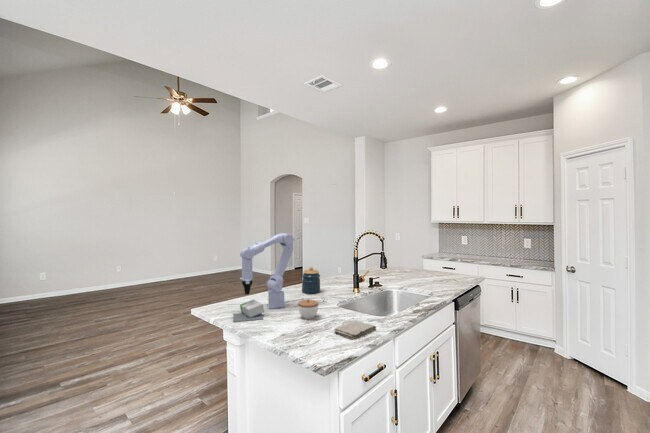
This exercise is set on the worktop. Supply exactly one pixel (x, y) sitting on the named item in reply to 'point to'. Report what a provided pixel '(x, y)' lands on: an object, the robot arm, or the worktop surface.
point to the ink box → (252, 308)
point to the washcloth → (354, 330)
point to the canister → (311, 281)
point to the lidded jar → (308, 308)
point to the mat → (246, 317)
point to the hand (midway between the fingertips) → (247, 294)
